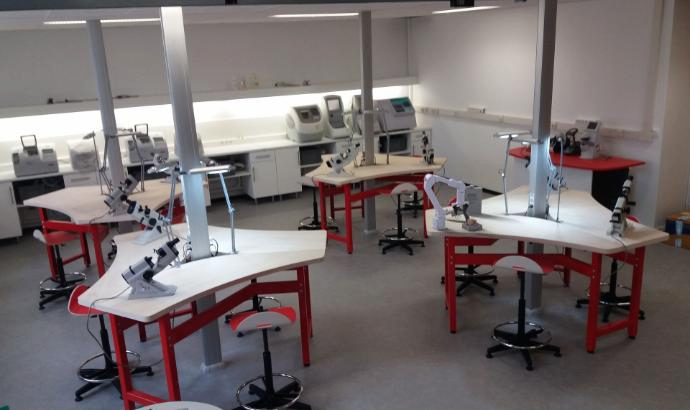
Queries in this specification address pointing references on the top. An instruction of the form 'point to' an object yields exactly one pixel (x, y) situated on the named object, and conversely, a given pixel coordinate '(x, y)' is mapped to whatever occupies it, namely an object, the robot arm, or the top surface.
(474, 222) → the walnut block
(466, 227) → the tray
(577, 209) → the top surface
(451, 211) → the gun
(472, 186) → the grey upright panel
